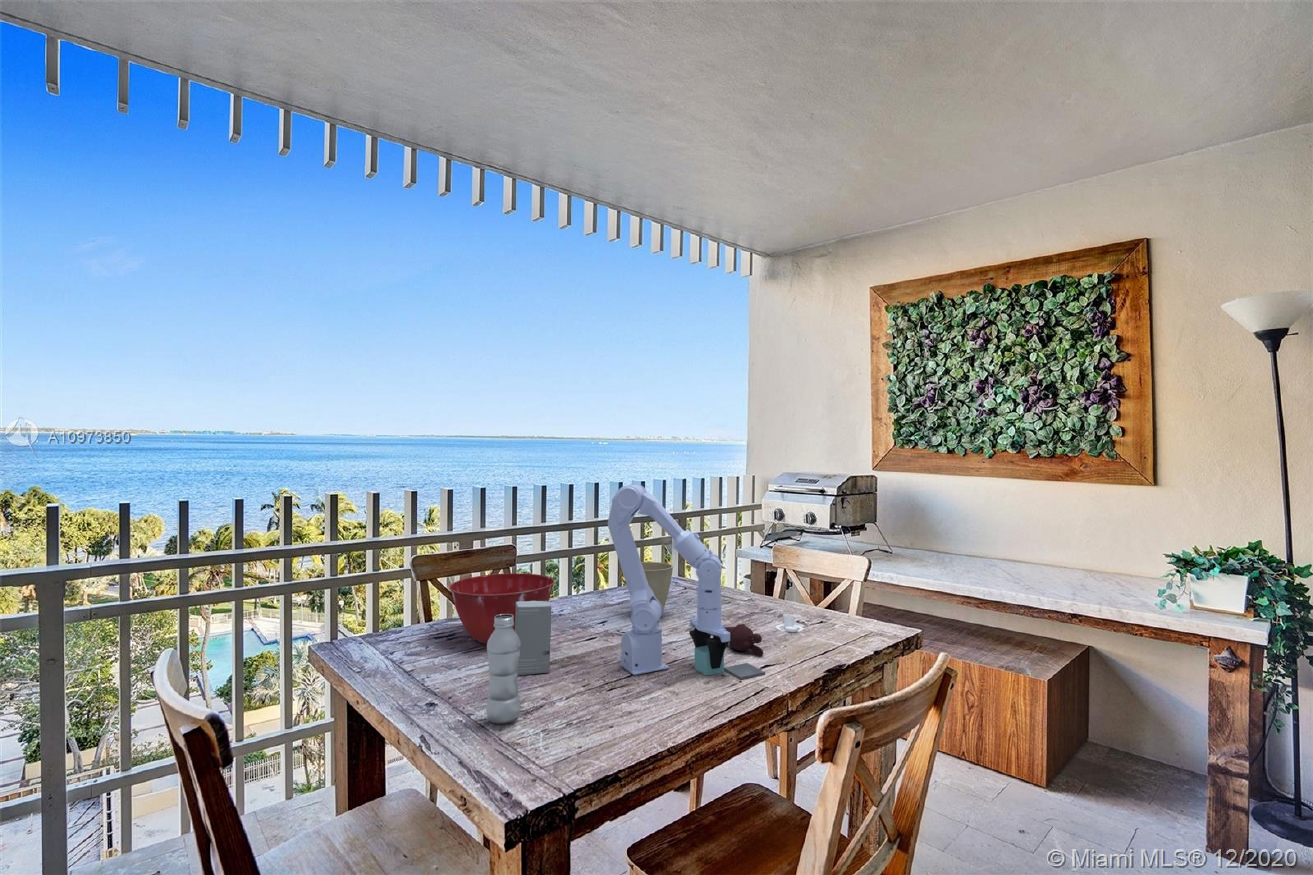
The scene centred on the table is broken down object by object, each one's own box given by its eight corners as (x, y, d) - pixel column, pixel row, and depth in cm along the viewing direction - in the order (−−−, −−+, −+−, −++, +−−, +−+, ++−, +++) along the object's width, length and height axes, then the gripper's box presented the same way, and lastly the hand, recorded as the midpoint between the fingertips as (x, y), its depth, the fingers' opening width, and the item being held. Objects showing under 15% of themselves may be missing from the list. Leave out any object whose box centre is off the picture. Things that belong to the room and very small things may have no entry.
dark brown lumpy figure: (708, 622, 162) (750, 641, 151) (727, 610, 167) (770, 628, 155) (711, 645, 164) (753, 666, 152) (730, 634, 168) (773, 652, 157)
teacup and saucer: (797, 636, 173) (797, 621, 173) (770, 631, 177) (770, 617, 177) (806, 628, 181) (806, 614, 181) (781, 624, 185) (781, 610, 185)
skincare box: (514, 676, 140) (515, 607, 140) (513, 666, 147) (513, 600, 147) (551, 673, 142) (552, 605, 143) (548, 663, 149) (549, 598, 150)
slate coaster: (740, 679, 139) (740, 677, 139) (723, 670, 145) (723, 667, 145) (765, 674, 142) (765, 672, 142) (747, 665, 148) (747, 662, 148)
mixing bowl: (432, 636, 170) (432, 580, 171) (522, 617, 189) (523, 568, 190) (476, 662, 149) (477, 599, 150) (574, 639, 168) (574, 583, 168)
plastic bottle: (523, 712, 121) (524, 611, 121) (516, 728, 114) (517, 621, 114) (490, 713, 121) (491, 611, 121) (481, 728, 114) (482, 621, 114)
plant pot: (681, 614, 193) (681, 564, 194) (656, 626, 181) (656, 572, 181) (642, 608, 201) (642, 559, 202) (615, 618, 189) (616, 567, 189)
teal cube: (706, 675, 141) (706, 653, 141) (694, 668, 146) (694, 647, 146) (723, 671, 144) (723, 650, 144) (712, 665, 148) (712, 644, 148)
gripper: (741, 611, 140) (741, 671, 140) (706, 598, 153) (706, 652, 153) (715, 615, 137) (715, 676, 137) (682, 601, 150) (682, 657, 150)
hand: (709, 664), depth 145 cm, fingers closed on teal cube, 5 cm apart
